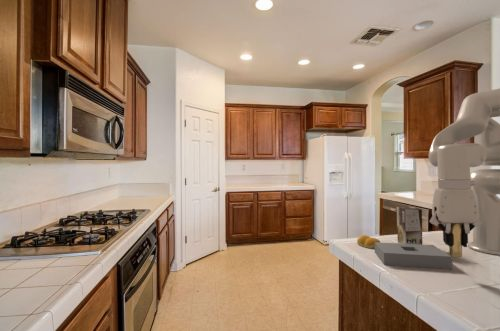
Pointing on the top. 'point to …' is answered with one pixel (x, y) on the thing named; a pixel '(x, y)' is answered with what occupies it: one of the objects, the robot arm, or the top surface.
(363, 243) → the bread roll
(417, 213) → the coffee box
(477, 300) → the top surface
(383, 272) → the top surface
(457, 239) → the brass peg
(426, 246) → the hole block
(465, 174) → the robot arm
